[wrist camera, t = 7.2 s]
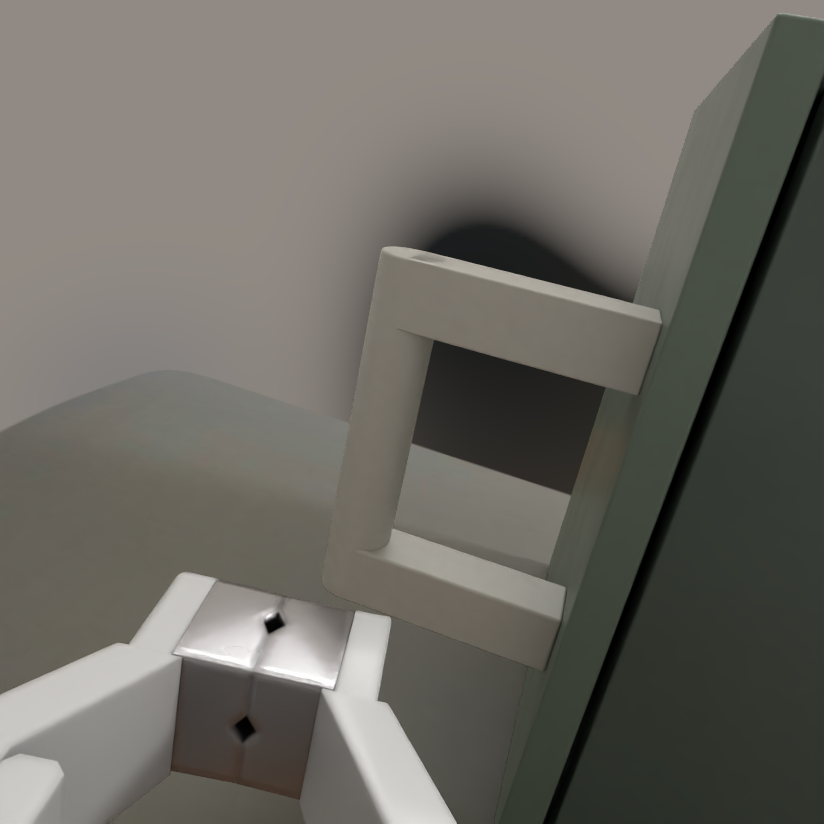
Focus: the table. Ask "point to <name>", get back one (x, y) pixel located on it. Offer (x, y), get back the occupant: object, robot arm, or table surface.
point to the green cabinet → (730, 574)
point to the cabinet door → (615, 423)
